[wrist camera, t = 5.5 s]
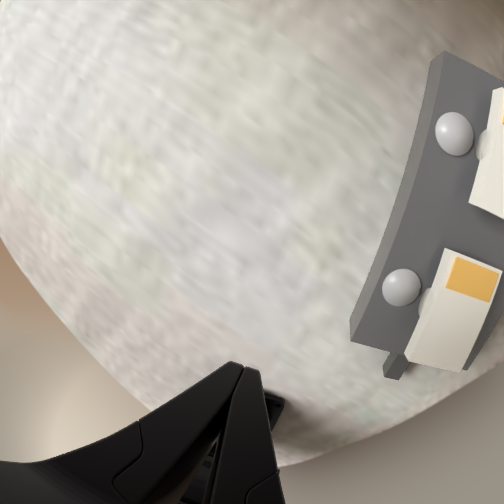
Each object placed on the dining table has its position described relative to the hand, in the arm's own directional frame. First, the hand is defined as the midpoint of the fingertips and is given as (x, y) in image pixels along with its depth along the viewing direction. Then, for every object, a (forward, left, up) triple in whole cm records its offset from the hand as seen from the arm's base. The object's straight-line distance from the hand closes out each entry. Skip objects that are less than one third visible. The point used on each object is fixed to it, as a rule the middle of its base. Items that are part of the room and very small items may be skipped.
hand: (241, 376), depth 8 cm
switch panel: (+3, -10, -12) cm, 16 cm away
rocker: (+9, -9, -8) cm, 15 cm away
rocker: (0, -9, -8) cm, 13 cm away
